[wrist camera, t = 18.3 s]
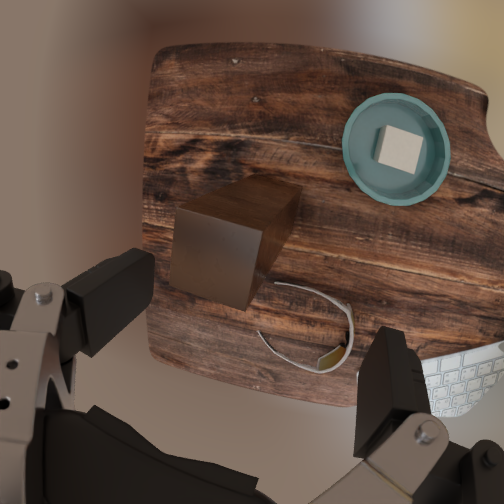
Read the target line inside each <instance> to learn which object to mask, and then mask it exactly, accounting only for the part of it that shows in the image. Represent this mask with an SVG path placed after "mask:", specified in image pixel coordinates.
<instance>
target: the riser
mask: <svg viewBox="0 0 504 504" xmlns="http://www.w3.org/2000/svg"><path fill="white" fill-rule="evenodd" d="M301 191H302V186H299V185H295V184H291V183H288V182H284V181H280V180H276V179H272V178H268V177H264V176H260V175H255V174H254V175H251V176H249V177H246V178H244V179H241V180H239V181H236V182H234V183H232V184H229V185H227V186H224V187H222V188H220V189H217V190H215V191H213V192H210V193H208V194H206V195H203V196H201V197H199V198H196V199H194V200H192V201H190V202H187V203H185V204H183V205H181V206H178V207H177V208H176V215H175V224H174V234H173V244H172V254H171V266H170V279H169V285H170V286H173V287H175V288H178V289H181V290H184V291H186V292H189V293H192V294H195V295H198V296H200V297H203V298H206V299H209V300H212V301H215V302H218V303H220V304H223V305H226V306H229V307H232V308H235V309H238V310H241V311H244V312H245V311H246V310H247V308H248V306H249V305H250V303H251V301H252V300H253V298H254V296H255V295H256V293H257V291H258V289H259V288H260V286H261V284H262V283H263V281H264V279H265V277H266V276H267V274H268V272H269V271H270V269H271V267H272V265H273V264H274V262H275V260H276V258H277V257H278V255H279V253H280V252H281V250H282V248H283V246H284V245H285V243H286V241H287V239H288V238H289V236H290V234H291V231H292V227H293V223H294V219H295V215H296V211H297V207H298V203H299V199H300V195H301Z"/></svg>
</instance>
